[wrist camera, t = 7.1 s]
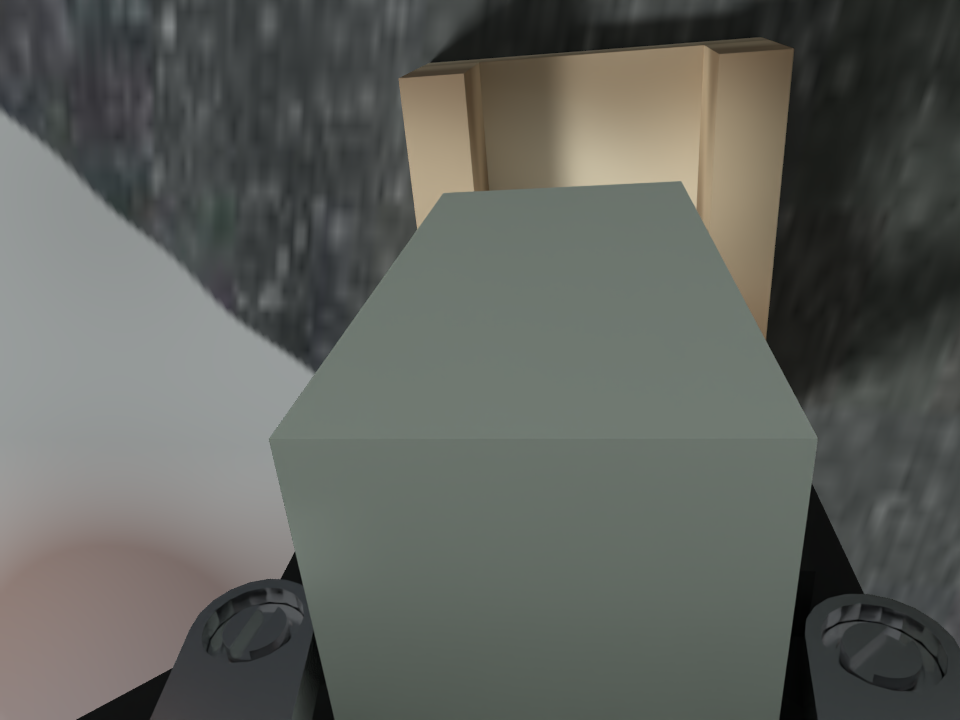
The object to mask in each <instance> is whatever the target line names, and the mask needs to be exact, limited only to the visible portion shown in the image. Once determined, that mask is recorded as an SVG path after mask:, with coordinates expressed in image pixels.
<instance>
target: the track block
mask: <svg viewBox="0 0 960 720" xmlns="http://www.w3.org/2000/svg"><path fill="white" fill-rule="evenodd" d="M793 55H794V48H791V47H788V46H785V45H782V44H779V43H776V42H774V41H771V40H768V39H765V38H762V37H757V38H744V39H731V40H719V41H706V42H693V43H680V44H667V45H655V46H642V47H629V48H616V49H603V50H591V51H578V52H565V53H552V54H539V55H527V56H514V57H501V58H488V59H476V60H463V61H450V62H437V63H428V64H426V65H424V66H422V67H420V68H418V69H416V70H414V71H412V72H410V73H408V74H406V75H404V76H402V77H400V78H399V86H400V94H401V102H402V110H403V118H404V126H405V134H406V142H407V150H408V158H409V166H410V174H411V182H412V190H413V198H414V206H415V214H416V223H417V229H418V228H419V227H420V225H421V224H422V222H423V221H424V219H425V218H426V217H427V215H428V214H429V212H430V211H431V210H432V208H433V207H434V205H435V204H436V203H437V201H438V200H439V198H440V197H441V195H442V194H443V193H453V192H473V191H493V190H513V189H533V188H553V187H573V186H594V185H614V184H634V183H654V182H674V181H681V182H682V183H683V185H684V187H685V189H686V191H687V193H688V195H689V197H690V198H691V200H692V202H693V204H694V206H695V208H696V210H697V212H698V214H699V215H700V217H701V219H702V221H703V223H704V225H705V227H706V229H707V231H708V232H709V234H710V236H711V238H712V240H713V242H714V244H715V246H716V248H717V249H718V251H719V253H720V255H721V257H722V259H723V261H724V263H725V264H726V266H727V268H728V270H729V272H730V274H731V276H732V278H733V280H734V281H735V283H736V285H737V287H738V289H739V291H740V293H741V295H742V297H743V298H744V300H745V302H746V304H747V306H748V308H749V310H750V312H751V314H752V315H753V317H754V319H755V321H756V323H757V325H758V327H759V329H760V330H761V332H762V334H763V336H764V338H765V340H766V334H767V323H768V313H769V303H770V292H771V282H772V272H773V261H774V251H775V241H776V230H777V220H778V210H779V199H780V189H781V179H782V168H783V158H784V148H785V138H786V127H787V117H788V107H789V96H790V86H791V76H792V65H793Z"/></svg>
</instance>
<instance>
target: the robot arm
mask: <svg viewBox="0 0 960 720" xmlns="http://www.w3.org/2000/svg"><path fill="white" fill-rule="evenodd" d="M77 720H335V719H334V715H333V710H332V706H331V702H330V698H329V693H328V689H327V685H326V681H325V676H324V672H323V668H322V664H321V659H320V655H319V651H318V647H317V642H316V638H315V634H314V629H313V625H312V621H311V617H310V612H309V608H308V604H307V600H306V595H305V591H304V587H303V583H302V578H301V574H300V570H299V566H298V561H297V557H296V553H295V552H294V554H293V557H292V559H291V560H290V562H289V564H288V566H287V568H286V570H285V572H284V574H283V576H282V578H281V579H266V580H260V581H255V582H250V583H247V584H245V585H242V586H239V587H237V588H234V589H231V590H230V591H228V592H226V593H225V594H223V595H222V596H220V597H218V598H217V599H215V600H214V601H212V602H211V603H210V604H209V605H208V606H207V607H206V608H205V609H204V610H203V611H202V612H201V613H200V614H199V615H198V617H197V619H196V620H195V622H194V623H193V625H192V627H191V629H190V630H189V633H188V635H187V637H186V639H185V642H184V644H183V646H182V648H181V651H180V653H179V655H178V657H177V660H176V662H175V664H174V666H173V668H172V669H170V670H168V671H166V672H164V673H162V674H161V675H159V676H157V677H155V678H153V679H151V680H149V681H148V682H146V683H144V684H142V685H140V686H138V687H136V688H135V689H133V690H131V691H129V692H127V693H125V694H124V695H121V696H120V697H118V698H116V699H114V700H112V701H110V702H109V703H107V704H105V705H103V706H101V707H99V708H97V709H95V710H94V711H92V712H90V713H88V714H86V715H84V716H82V717H80V718H79V719H77ZM779 720H960V648H959V646H958V644H957V643H956V641H955V639H954V638H953V637H952V636H951V635H950V634H949V633H948V632H947V631H946V630H945V629H944V628H943V627H942V626H941V625H940V624H939V623H938V622H936V621H935V620H933V619H932V618H930V617H928V616H927V615H925V614H924V613H922V612H920V611H919V610H917V609H916V608H913V607H911V606H908V605H906V604H903V603H901V602H898V601H896V600H893V599H889V598H885V597H880V596H875V595H870V594H864V593H863V591H862V589H861V587H860V584H859V582H858V580H857V578H856V576H855V574H854V572H853V570H852V567H851V565H850V563H849V561H848V559H847V557H846V555H845V553H844V550H843V548H842V546H841V544H840V542H839V540H838V538H837V536H836V533H835V531H834V529H833V527H832V525H831V523H830V521H829V519H828V516H827V514H826V512H825V510H824V508H823V506H822V504H821V502H820V500H819V497H818V495H817V493H816V491H815V489H814V487H813V485H812V484H811V492H810V499H809V506H808V513H807V521H806V528H805V535H804V542H803V550H802V557H801V564H800V571H799V579H798V586H797V593H796V600H795V608H794V615H793V622H792V629H791V637H790V644H789V651H788V659H787V666H786V673H785V680H784V688H783V695H782V702H781V709H780V717H779Z"/></svg>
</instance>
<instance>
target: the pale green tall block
mask: <svg viewBox="0 0 960 720" xmlns="http://www.w3.org/2000/svg"><path fill="white" fill-rule="evenodd" d="M817 441H818V438H817V436H816V434H815V432H814V430H813V429H812V427H811V425H810V423H809V421H808V419H807V417H806V415H805V413H804V412H803V410H802V408H801V406H800V404H799V402H798V400H797V398H796V396H795V395H794V393H793V391H792V389H791V387H790V385H789V383H788V381H787V380H786V378H785V376H784V374H783V372H782V370H781V368H780V366H779V364H778V363H777V361H776V359H775V357H774V355H773V353H772V351H771V349H770V347H769V346H768V344H767V342H766V340H765V338H764V336H763V334H762V332H761V330H760V329H759V327H758V325H757V323H756V321H755V319H754V317H753V315H752V314H751V312H750V310H749V308H748V306H747V304H746V302H745V300H744V298H743V297H742V295H741V293H740V291H739V289H738V287H737V285H736V283H735V281H734V280H733V278H732V276H731V274H730V272H729V270H728V268H727V266H726V264H725V263H724V261H723V259H722V257H721V255H720V253H719V251H718V249H717V248H716V246H715V244H714V242H713V240H712V238H711V236H710V234H709V232H708V231H707V229H706V227H705V225H704V223H703V221H702V219H701V217H700V215H699V214H698V212H697V210H696V208H695V206H694V204H693V202H692V200H691V198H690V197H689V195H688V193H687V191H686V189H685V187H684V185H683V183H682V182H681V181H674V182H654V183H634V184H614V185H594V186H573V187H553V188H533V189H513V190H493V191H473V192H453V193H443V194H442V195H441V197H440V198H439V200H438V201H437V203H436V204H435V205H434V207H433V208H432V210H431V211H430V212H429V214H428V215H427V217H426V218H425V219H424V221H423V222H422V224H421V225H420V227H419V228H418V229H417V231H416V232H415V234H414V235H413V236H412V238H411V239H410V241H409V242H408V243H407V245H406V246H405V248H404V249H403V250H402V252H401V253H400V255H399V256H398V258H397V259H396V260H395V262H394V263H393V265H392V266H391V267H390V269H389V270H388V272H387V273H386V274H385V276H384V277H383V279H382V280H381V282H380V283H379V284H378V286H377V287H376V289H375V290H374V291H373V293H372V294H371V296H370V297H369V298H368V300H367V301H366V303H365V304H364V305H363V307H362V308H361V310H360V311H359V313H358V314H357V315H356V317H355V318H354V320H353V321H352V322H351V324H350V325H349V327H348V328H347V329H346V331H345V332H344V334H343V335H342V337H341V338H340V339H339V341H338V342H337V344H336V345H335V346H334V348H333V349H332V351H331V352H330V353H329V355H328V356H327V358H326V359H325V360H324V362H323V363H322V365H321V366H320V368H319V369H318V370H317V372H316V373H315V375H314V376H313V377H312V379H311V380H310V382H309V383H308V384H307V386H306V387H305V389H304V390H303V392H302V393H301V394H300V396H299V397H298V399H297V400H296V401H295V403H294V404H293V406H292V407H291V408H290V410H289V411H288V413H287V414H286V416H285V417H284V418H283V420H282V421H281V423H280V424H279V425H278V427H277V428H276V430H275V431H274V433H273V434H272V435H271V437H270V438H269V442H270V446H271V450H272V455H273V459H274V463H275V467H276V471H277V476H278V480H279V485H280V489H281V493H282V497H283V502H284V506H285V510H286V514H287V519H288V523H289V527H290V531H291V536H292V540H293V544H294V548H295V553H296V557H297V561H298V566H299V570H300V574H301V578H302V583H303V587H304V591H305V595H306V600H307V604H308V608H309V612H310V617H311V621H312V625H313V629H314V634H315V638H316V642H317V647H318V651H319V655H320V659H321V664H322V668H323V672H324V676H325V681H326V685H327V689H328V693H329V698H330V702H331V706H332V710H333V715H334V719H335V720H779V717H780V709H781V702H782V695H783V688H784V680H785V673H786V666H787V659H788V651H789V644H790V637H791V629H792V622H793V615H794V608H795V600H796V593H797V586H798V579H799V571H800V564H801V557H802V550H803V542H804V535H805V528H806V521H807V513H808V506H809V499H810V492H811V484H812V477H813V470H814V462H815V455H816V448H817Z"/></svg>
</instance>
